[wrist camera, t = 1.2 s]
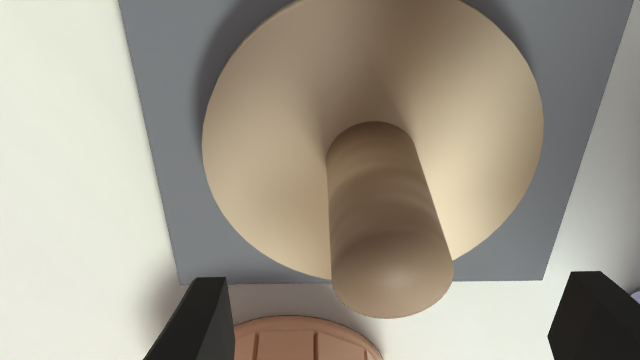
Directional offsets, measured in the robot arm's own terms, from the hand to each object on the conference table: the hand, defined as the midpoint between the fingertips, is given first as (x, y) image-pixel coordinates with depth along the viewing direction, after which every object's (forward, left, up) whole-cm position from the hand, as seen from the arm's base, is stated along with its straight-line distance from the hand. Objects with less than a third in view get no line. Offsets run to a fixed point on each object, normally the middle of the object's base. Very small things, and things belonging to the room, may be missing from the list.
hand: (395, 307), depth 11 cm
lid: (0, 0, -7) cm, 7 cm away
